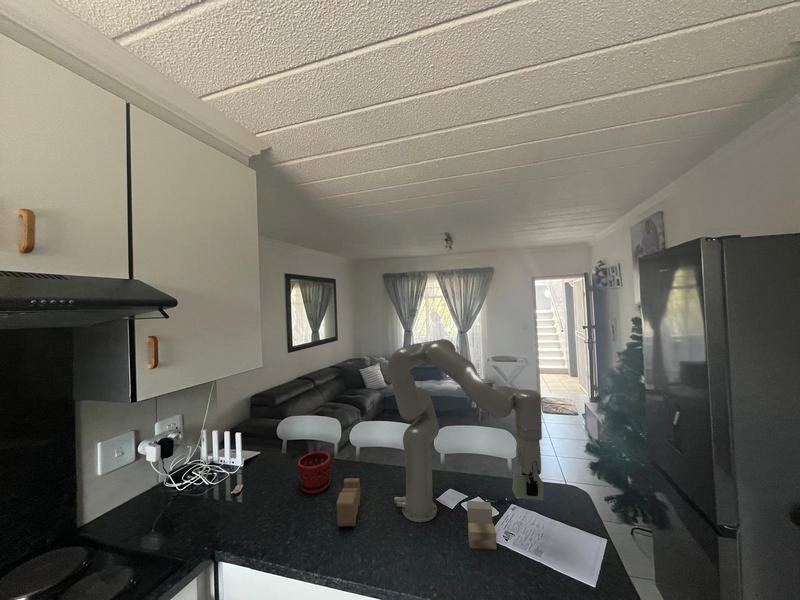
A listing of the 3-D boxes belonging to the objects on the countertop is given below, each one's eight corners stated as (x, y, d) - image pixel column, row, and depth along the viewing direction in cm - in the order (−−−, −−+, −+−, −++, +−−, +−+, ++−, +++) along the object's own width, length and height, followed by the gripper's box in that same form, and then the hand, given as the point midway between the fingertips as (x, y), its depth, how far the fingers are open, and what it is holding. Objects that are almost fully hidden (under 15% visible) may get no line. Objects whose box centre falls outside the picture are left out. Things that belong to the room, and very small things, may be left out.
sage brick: (515, 497, 94) (516, 480, 94) (512, 489, 98) (513, 473, 98) (542, 500, 93) (544, 484, 93) (538, 492, 97) (539, 476, 97)
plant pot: (317, 475, 137) (316, 448, 138) (337, 485, 130) (337, 456, 130) (291, 490, 127) (291, 460, 127) (312, 501, 119) (311, 470, 119)
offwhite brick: (468, 522, 106) (468, 508, 106) (467, 514, 110) (467, 500, 110) (492, 524, 105) (492, 509, 105) (490, 516, 109) (490, 502, 109)
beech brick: (470, 548, 95) (469, 531, 95) (468, 538, 99) (467, 522, 99) (496, 549, 94) (496, 533, 94) (493, 539, 98) (493, 523, 98)
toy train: (360, 500, 119) (360, 474, 119) (353, 533, 102) (352, 502, 102) (346, 500, 119) (346, 474, 119) (336, 533, 102) (336, 502, 102)
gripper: (509, 421, 104) (510, 475, 104) (524, 443, 88) (525, 508, 87) (531, 421, 104) (533, 476, 103) (551, 443, 87) (553, 509, 87)
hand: (529, 490), depth 95 cm, fingers closed on sage brick, 4 cm apart
